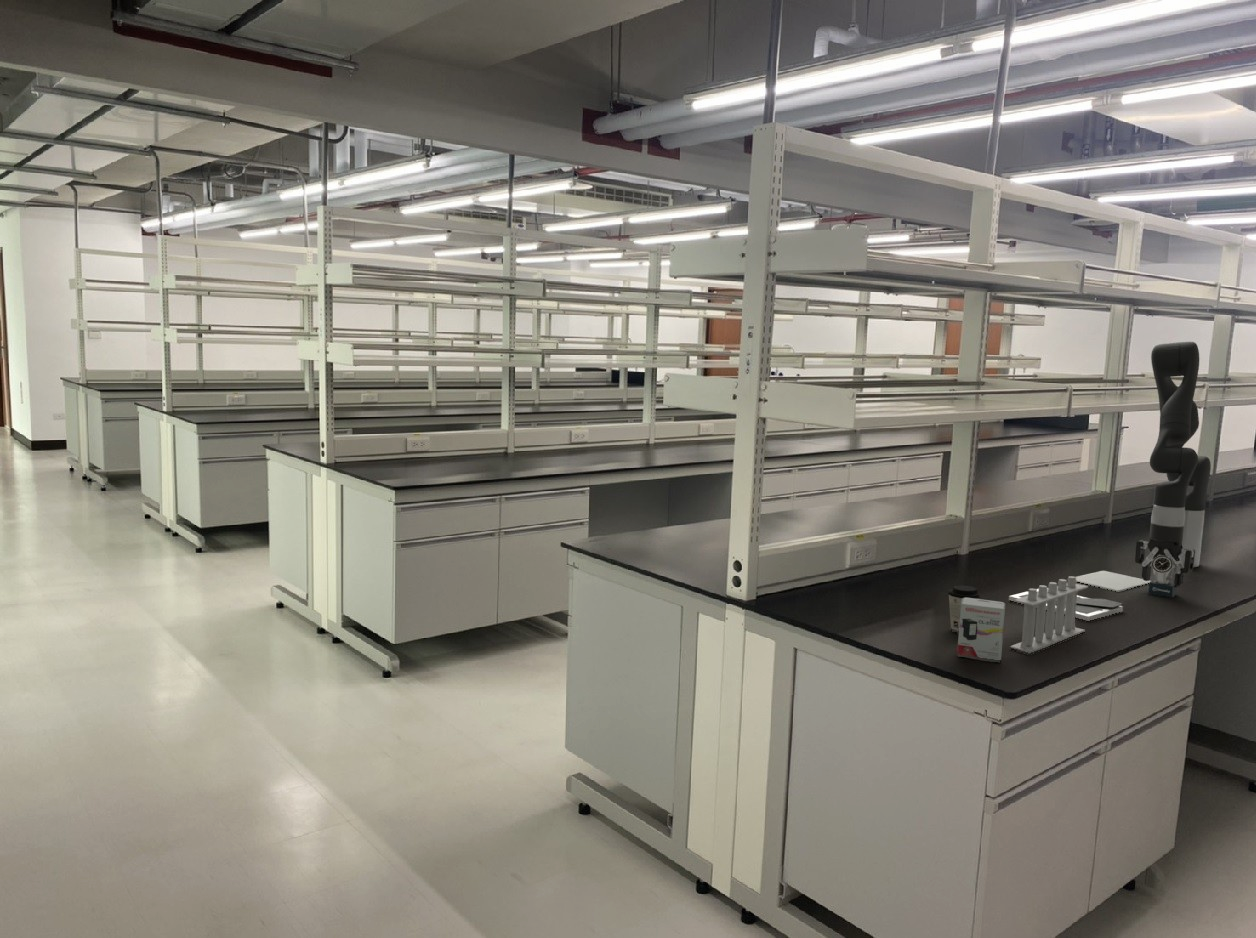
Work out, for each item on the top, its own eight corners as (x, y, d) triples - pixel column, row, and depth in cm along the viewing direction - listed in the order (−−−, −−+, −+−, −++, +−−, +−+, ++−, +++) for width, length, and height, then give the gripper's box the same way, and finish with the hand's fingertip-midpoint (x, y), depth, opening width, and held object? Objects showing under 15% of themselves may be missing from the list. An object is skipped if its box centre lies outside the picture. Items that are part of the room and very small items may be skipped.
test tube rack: (1065, 628, 208) (1070, 572, 207) (1084, 633, 205) (1089, 576, 203) (1009, 649, 193) (1014, 589, 191) (1029, 655, 190) (1034, 594, 188)
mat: (1102, 572, 261) (1102, 570, 261) (1152, 583, 250) (1152, 581, 250) (1067, 580, 251) (1068, 578, 251) (1118, 592, 240) (1118, 590, 240)
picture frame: (1122, 614, 222) (1043, 595, 239) (1123, 603, 222) (1043, 584, 239) (1088, 625, 213) (1008, 603, 230) (1089, 613, 213) (1009, 593, 230)
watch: (1146, 595, 237) (1149, 554, 236) (1155, 589, 243) (1158, 549, 241) (1170, 599, 233) (1174, 558, 232) (1178, 593, 239) (1182, 553, 237)
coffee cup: (952, 635, 201) (955, 592, 200) (940, 626, 208) (943, 584, 207) (983, 635, 202) (986, 592, 200) (970, 626, 209) (972, 584, 207)
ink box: (956, 657, 187) (959, 602, 186) (957, 650, 192) (961, 596, 190) (1000, 664, 184) (1004, 608, 182) (1001, 656, 188) (1005, 601, 187)
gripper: (1203, 525, 232) (1197, 588, 234) (1146, 516, 244) (1141, 575, 246) (1189, 528, 228) (1183, 592, 230) (1132, 519, 240) (1126, 579, 242)
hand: (1161, 583), depth 238 cm, fingers open, 7 cm apart
